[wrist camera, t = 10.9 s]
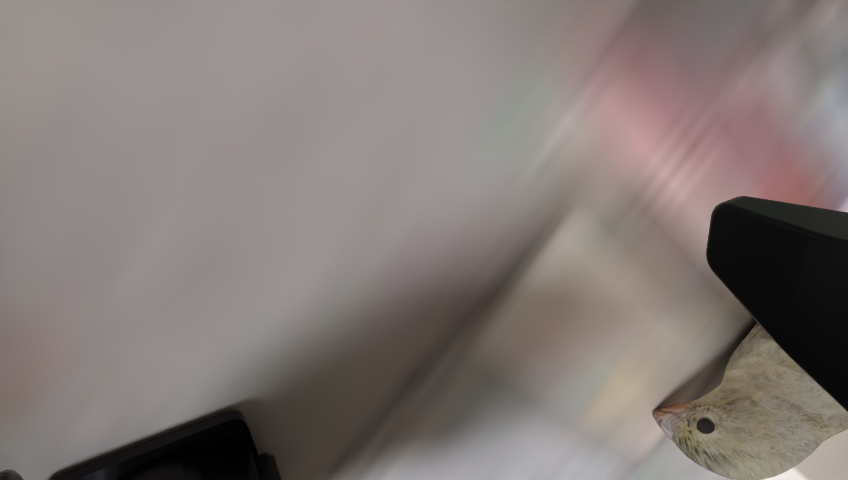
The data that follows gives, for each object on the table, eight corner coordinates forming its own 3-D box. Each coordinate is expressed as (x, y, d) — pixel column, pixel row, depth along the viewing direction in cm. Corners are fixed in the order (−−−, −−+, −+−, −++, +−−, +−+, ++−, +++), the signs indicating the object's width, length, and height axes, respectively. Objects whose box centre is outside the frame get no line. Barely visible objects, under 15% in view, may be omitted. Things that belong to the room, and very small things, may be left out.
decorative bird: (630, 389, 32) (754, 510, 26) (884, 174, 33) (1062, 247, 27) (661, 438, 36) (777, 555, 30) (892, 243, 36) (1051, 321, 30)
